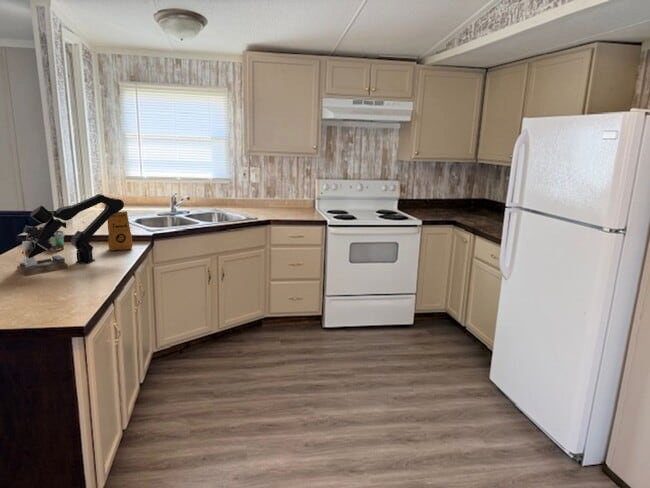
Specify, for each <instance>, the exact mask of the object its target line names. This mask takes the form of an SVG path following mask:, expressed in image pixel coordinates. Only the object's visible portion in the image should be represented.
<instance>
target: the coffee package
mask: <svg viewBox="0 0 650 488" xmlns="http://www.w3.org/2000/svg"><path fill="white" fill-rule="evenodd" d="M107 229H108V231H107V232H108V235H107V236H108V244H107V245H108V249H109V251H127V250H128V251H129V250H133V249H132V248H133V244H134V243H133V236H132V233H131V227H130V221H129V216H128V211H127V210H126V211H125V210H124V211H123V210H122V211H119V212H117V213H115V214H113V215H112V216H111V217H110V218H109V219H108V220H107Z"/></svg>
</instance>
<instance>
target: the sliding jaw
mask: <svg viewBox="0 0 650 488" xmlns="http://www.w3.org/2000/svg"><path fill="white" fill-rule="evenodd" d="M32 249H33V244H32V241H27V240H24V241H22V252H23V254H22V255H23V257H24V259H22V263H23V266H24V267H31V266H37V261H38V260H36V259H35V256H34V257H32V258H28V255H29V254H30V252H31V251H32Z"/></svg>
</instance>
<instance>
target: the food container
mask: <svg viewBox="0 0 650 488" xmlns="http://www.w3.org/2000/svg"><path fill="white" fill-rule="evenodd" d="M54 235H55V236H54V237H51V238H50V240H49V243H50V244H51V246H52V248H51V249H50V250H52V251H54V252H56V253H57V252H61V251H64V249H65V245H64V243H65V242H64V241H65V240H64V237H65V232H64V231H63V230H58V231H57V232H56V233H55V234H54Z"/></svg>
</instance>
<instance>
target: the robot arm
mask: <svg viewBox="0 0 650 488" xmlns="http://www.w3.org/2000/svg"><path fill="white" fill-rule="evenodd" d="M101 203H102V204H104V205H105V206H104V209H103V210H102V211H101V213H99V214H98V215H97V216H96V217H95V219H94V220H93V221H92V222H90V223H89V225H88V226H87V227H85V229H83V230H82V231H79V230H77V231H76V232H75V233H74V234H73V235H72V236H71V239H70V243H71V246H73V247H75V249H76V261H75V263H76V264H90V263H92V262H94V261H95V260H96V259H95V258H94V257H93V249H94V246H93V245H92V244H90V242H91V240H92V237H93V236H94V235H95V233H97V231H98V230H99V229H101V227H102V226H103V225H104V224H105V223H106V222H108V219H109V218H110V217H111V216H112V215H113V214H115V213H117V212H121V210H123V208H124V207H125V203H124V201H123V200H122V199H120V198H114V197H112V198H111V197H109V196H105V195H104V194H100V193H96V194H95V195H94V196H91V197H88V198H87V199H84V200H82V201H80V202H77V203H75V204H73V205H66V206H62V207H59V208H57V209H56V210H52V211H49V210H48V209H46V207H45V206H43V205H39V206H38V207H37V208H35V209H33V210H32V212H30V216H29V217H31V218H32V219H34V220H35V221H37V222H38V223H39V224H41V225H42V224H44V225H43V226H41V227H39V228H38V227H37V226H34V225H32V226H29V225H24V228H23V231H22V232H23V233H25V234H27V235H25V236H26V237H25V241H32V244H33V249H32V251H31V252H30V254H29V255H28V258H32V257H34V258H35V257H36V256H38V255H40V254H42V253H45V252H47V251H50V250H52V249H51V248H52V246H51V244H50V238H51V237H54V236H55V235H54V234H55V233H56V232H57V231H60V229H61V228H64V229H67V228H68V226H67V222H68V221H70V220H71V219H74V218H75V217H76V216H77V215H78V214H79V213H80V212H83V211H85V210H88V209H90V208H92V207H94V206H97V205H99V204H101ZM55 218H56V219H55ZM66 221H67V222H66ZM21 254H22V255H24V254H23V251H22V253H21Z"/></svg>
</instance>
